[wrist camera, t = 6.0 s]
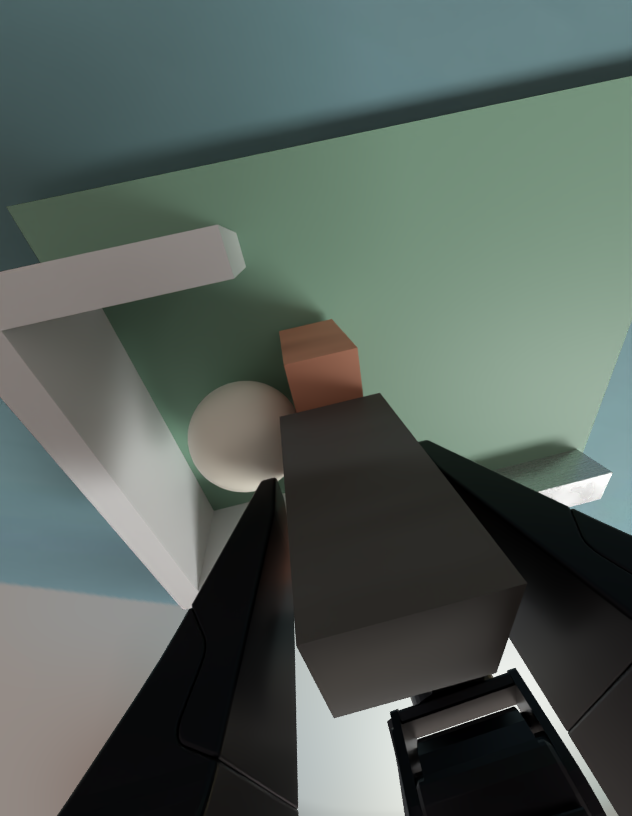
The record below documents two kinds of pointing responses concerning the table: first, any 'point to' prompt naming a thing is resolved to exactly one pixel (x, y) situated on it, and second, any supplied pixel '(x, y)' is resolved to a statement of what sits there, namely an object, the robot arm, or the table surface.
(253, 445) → the ball
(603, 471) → the rail
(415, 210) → the pitch
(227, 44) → the table surface
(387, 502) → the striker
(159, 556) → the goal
